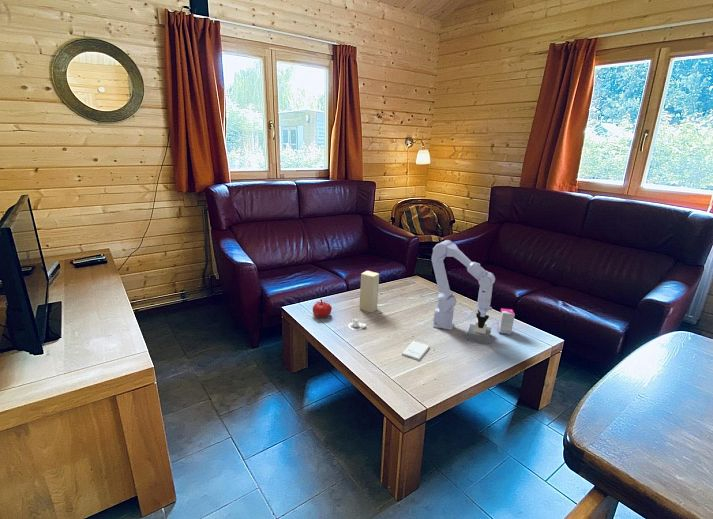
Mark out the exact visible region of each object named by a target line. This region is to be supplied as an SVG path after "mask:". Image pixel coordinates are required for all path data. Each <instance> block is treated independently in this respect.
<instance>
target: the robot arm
mask: <svg viewBox="0 0 713 519" xmlns="http://www.w3.org/2000/svg"><path fill="white" fill-rule="evenodd" d="M446 257H449V258H450V257H452V258H454V259H456V260H457V261H459V262H460V263H461V264H463V266H465V268H466V271H467V272H468V273H469V274H470V275H471V276H472V277H474V279H475V280H477V282H478V285H479V290H478V297H477V302H476V309H477V312H476V314H475V315H476V318H477V319H478V328H483V327H484V325H485V322H486V320H487V321H488V319H490V318H489V317H490V315H488V314H487V313H488V312H489V311H492V310H493V307H492V306H491V302H492V293H493V286H494V283H495V282H496V277H495V275H494V273H493V272H490V271H488V270H485V269H484V267H483V266H481V263H479V262H476V261H472V260H471V259H469V257H468V256H466V255H465V253H464V252H463V251H462V250H460V249H459V247H458V246H457V244H456V243H453V241H451V240H450V239H445V240H444V241H441V242H439V243H436V244H435V246H434V247H433V248H432V254H431V264H432V268H433V272H434V275H435V280H436V284H437V289H438V296H437V307H435V308H434V316H433V320H432V321H433V323H432V325H433V327H434V328H437V329H438V328H439V329H445V330H449V331H452V330H453V328H454V321H453V319H454V311H455V309H454V307H455V306H456V305H457V298H456V296H455V295H454V292H453V291H452V290H451V289H450V285H449V280H448V276H447V270H446V268H445V263H444V260H445V258H446Z"/></svg>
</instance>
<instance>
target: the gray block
mask: <svg viewBox="0 0 713 519" xmlns="http://www.w3.org/2000/svg"><path fill="white" fill-rule="evenodd" d="M475 325H476V324H471V323H470V324H469V327H468V332H467V336H466V337H467V338H466V340H468V341H472V342H478V343H482V344H487V345H489V344H490V339H491V334H492V333H491V332H492V327H488V326H487V327H486V334H484V333H478V332H475Z"/></svg>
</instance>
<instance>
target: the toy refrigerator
mask: <svg viewBox="0 0 713 519" xmlns="http://www.w3.org/2000/svg"><path fill="white" fill-rule="evenodd" d="M379 284H380V273H378V272H374V271H372V270H371V271H370V270H365V271H364V272H362V273H360V289H359V290H360V292H359V310H361V311H365V312H367V313H374V312H375V311H376V310H377V309H378V302H379V301H378V300H379Z"/></svg>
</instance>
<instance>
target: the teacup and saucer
mask: <svg viewBox="0 0 713 519" xmlns="http://www.w3.org/2000/svg"><path fill="white" fill-rule="evenodd" d="M347 326H348V328H349V329H350V330H353V331H358V330H359V331H360V330H362V329H364V328H366V327H367V324H366V323H363V322H362V323H361V322H360V318H352V319H351V320H350V323H348V325H347ZM351 326H353V327H354V328H352V327H351Z"/></svg>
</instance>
